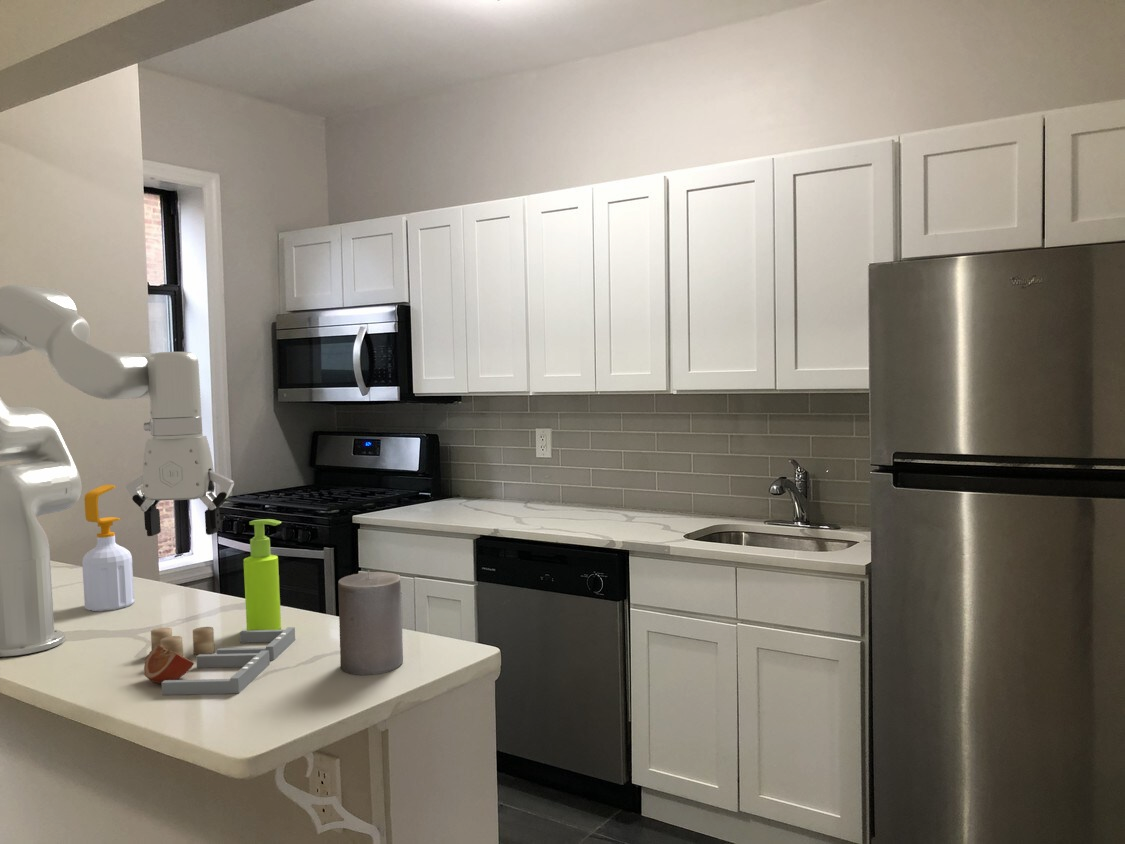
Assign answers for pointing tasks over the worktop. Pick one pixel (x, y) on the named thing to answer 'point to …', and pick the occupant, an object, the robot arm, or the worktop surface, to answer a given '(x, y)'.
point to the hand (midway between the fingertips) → (183, 534)
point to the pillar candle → (370, 623)
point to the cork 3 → (203, 640)
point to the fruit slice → (165, 665)
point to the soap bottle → (106, 563)
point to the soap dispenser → (262, 581)
